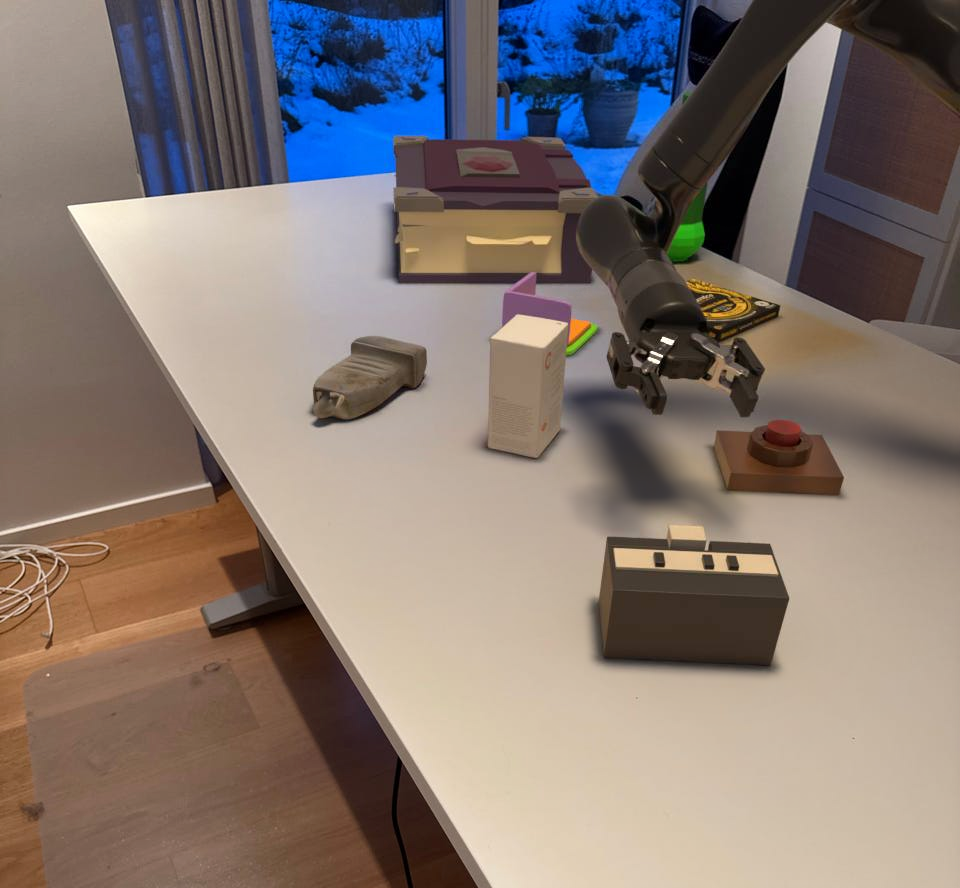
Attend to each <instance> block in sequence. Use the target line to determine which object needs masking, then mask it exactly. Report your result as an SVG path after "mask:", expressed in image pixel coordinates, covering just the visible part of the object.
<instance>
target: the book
mask: <svg viewBox="0 0 960 888" xmlns="http://www.w3.org/2000/svg"><path fill="white" fill-rule="evenodd" d="M392 144H393V156H394V161H395V174H394V175H393V177H395V185H396V186H395V187H393V212H394V213H396V229H397V230H396V231H397V233H396V236H395V239H394V243H395V244H397V267H398V268H397V269H398V284H515V283H517V282H518V281H520V280H521V279H522V278H524V277H525V276H527V275H528V274H529V273H531V272H535V273H536V284H591V278H592V272H593V270H592V269H591V267H590V266H589V265H588V264H587V262H586V261H585V260H584V258H583V257H582V255H581V253H580V251H579V249H578V246H577V241H576V229H577V223H578V220H579V217H580V215H581V213H582V211H583V210H584V208H585V207H586V206H587V205H588V204H589V203H590V202H591V201H592V200H594V199H595V198H597V197H599V195H598V194H597V192H596V191H595V189H594V187H592V185H591V181H590V179H589V178H587V176H586V175H585V172H584V170H583V168H582V167H581V166H580V165H579V163H578V162H577V161H576V160H575V158H574V154H573V153H572V152H571V150H568V149H567V146H566V144H565V142H564V140H563V139H562V138H560V137H548V136H547V137H546V136H525V137H521V138H520V139H453V138H452V139H450V138H447V139H446V138H442V139H441V138H439V139H438V138H429V136H426V135H395V136H394V137H393V140H392Z"/></svg>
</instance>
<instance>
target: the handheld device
mask: <svg viewBox="0 0 960 888" xmlns="http://www.w3.org/2000/svg"><path fill="white" fill-rule="evenodd" d="M427 351H428V350H427V348H426V347H425V346H424V345H420V344H416V343H411V342H406V341H402V340H398V339H394V338H389V337H386V336H380V335H367V336H366V335H365V336H362V337H357V338H356V339H354V340H353V341H352V342H351V344H350V355H348V356H346V357H345V358H343V359H341V360H340V361H338V362H337V363H335V364H333V365H332V366H330V367H329V368H327V369H326V370H324V372H323V373H322V374H320V375H319V376H318V377H317V379H316V380H315V381H314V383H313V387H312V399H313V408H312V412H313V415H315V417H317V418H321V419H326V418H329V417H332V418H336V419H341V420H351V419H355V418H357V417H360V416H362V415H364V414H366V413H368V412H370V411H372V410H374V409H375V408H377V407H378V406H380V405H381V404H383V403H384V402H385V401H386V400H387V399H388V398H390V397H391V396H392V395H393V394H394V393H396V392H397V391H398V390H399V389H400V388H401V387H404V388H405V387H406V388H408V389H409V388H410V389H415V388H417V387H418V386H419V385H420V383H421V382H422V380H423V378H424V375H425V372H426V369H427V366H428V353H427Z"/></svg>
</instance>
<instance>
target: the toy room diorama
mask: <svg viewBox="0 0 960 888" xmlns="http://www.w3.org/2000/svg"><path fill="white" fill-rule="evenodd" d="M536 287H537V283H536V273H535V272H531V273H529V274H528V275H527V276H525V277H524V278H522V279H521V280H520V281H518V282H517V283H513V285H511V286H510V287H508V288H507V289H506V290H504V292H503V293H504V294H503V298H502V316H501V317H502V319H501V328H502V327H503V326H505V325H506V324H507V323H508V322H509V321H510V320H511V319H512V318H514V317H515V316H516V315H517V314H518V315H525V316H532V317H538V318H544V319H550V320H556V321H561V322H565V323H568V336H567V349H566V356H571V355H573V354H575V353H576V352H577V351H578V350H580V348H581V347H582V346H583V345H584V344H586V342H588V341H589V340H590V339H591V338H592V337H593V336H594V335H595V334H596V333H597V332H598V330H599V326H598V324H596V323H592V322H591V321H588V320H583V319H576V318H572V307H573V306H572V304H571V302H569V301H567V300H561V299H557V298H552V297H551V298H550V297H546V296H541V295H536V289H537V288H536Z"/></svg>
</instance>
